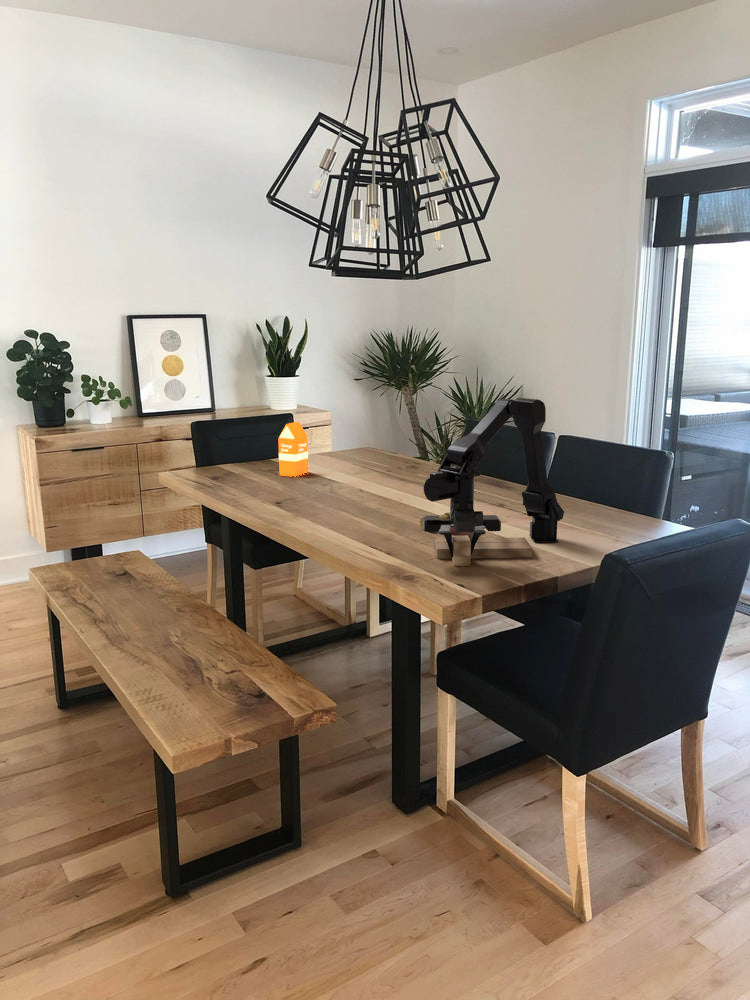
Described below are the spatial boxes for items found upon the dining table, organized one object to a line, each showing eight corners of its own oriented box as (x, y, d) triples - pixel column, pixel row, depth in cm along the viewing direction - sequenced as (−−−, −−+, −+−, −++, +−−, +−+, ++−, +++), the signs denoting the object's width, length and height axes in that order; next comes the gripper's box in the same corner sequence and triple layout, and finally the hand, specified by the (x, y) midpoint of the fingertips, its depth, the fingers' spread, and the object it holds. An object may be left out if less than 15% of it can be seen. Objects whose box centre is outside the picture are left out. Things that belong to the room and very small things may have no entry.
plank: (524, 546, 215) (524, 537, 214) (531, 557, 205) (532, 548, 204) (434, 547, 215) (434, 538, 214) (437, 558, 205) (437, 548, 204)
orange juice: (279, 475, 312) (277, 423, 308) (292, 471, 320) (290, 420, 315) (296, 476, 309) (294, 424, 304) (308, 472, 316) (307, 421, 312)
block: (464, 551, 210) (465, 529, 209) (470, 565, 199) (470, 542, 197) (449, 551, 210) (449, 529, 209) (454, 565, 199) (454, 542, 197)
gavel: (493, 530, 220) (463, 536, 215) (492, 546, 221) (462, 552, 216) (448, 510, 237) (419, 514, 232) (447, 525, 238) (419, 529, 233)
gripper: (426, 503, 190) (425, 567, 193) (505, 502, 190) (503, 566, 194) (423, 493, 201) (422, 553, 204) (498, 492, 201) (496, 553, 204)
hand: (460, 556), depth 201 cm, fingers closed on block, 4 cm apart
